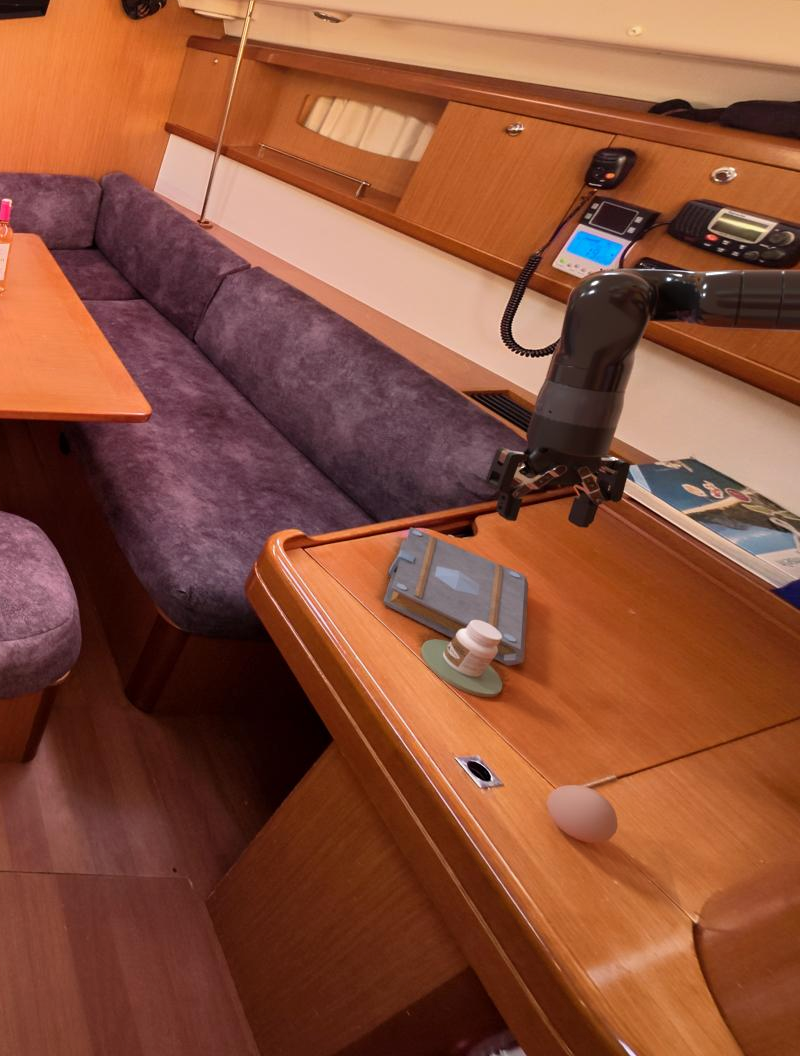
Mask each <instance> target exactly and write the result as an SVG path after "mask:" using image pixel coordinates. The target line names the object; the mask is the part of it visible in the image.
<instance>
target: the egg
mask: <svg viewBox="0 0 800 1056" xmlns="http://www.w3.org/2000/svg"><path fill="white" fill-rule="evenodd" d="M546 807H547V811H548V815H549V816H550V818H551V820H552V821H553V823H554V824H555V825H556V826H557V828H559V829H560V830H561V831H563V832H564V833H565V834H567V835H568V836H569V837H571V838H573V839H575V840H578V841H581V842H584V843H588V844H589V843H590V844H601V843H605V842H607V841H609V840H611V839H612V838H613V837H614V835H616V832H617V830H618V816H617V813H616V810H615V808H614V807H613V805H612V803H610V801H609V800H608V799H607V798H605V796H604V795H602V794H601V793H599V792H598V791H596V790H595V789H592V788H590V787H587V786H583V785H578V784H568V785H561V786H559V787H556V788H555V789H553V790H552V791H551V792H550V793H549V795H548V796H547V799H546Z"/></svg>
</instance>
